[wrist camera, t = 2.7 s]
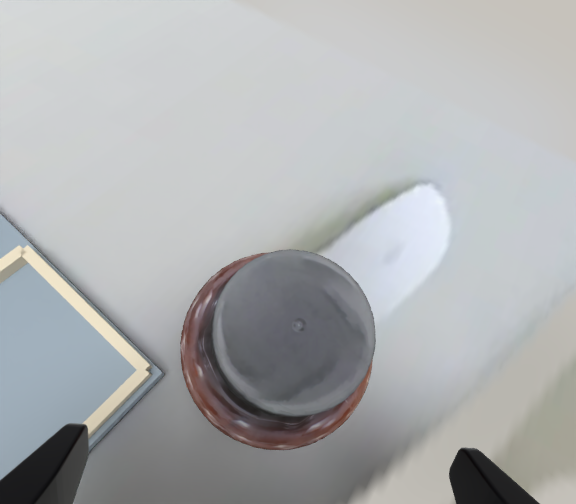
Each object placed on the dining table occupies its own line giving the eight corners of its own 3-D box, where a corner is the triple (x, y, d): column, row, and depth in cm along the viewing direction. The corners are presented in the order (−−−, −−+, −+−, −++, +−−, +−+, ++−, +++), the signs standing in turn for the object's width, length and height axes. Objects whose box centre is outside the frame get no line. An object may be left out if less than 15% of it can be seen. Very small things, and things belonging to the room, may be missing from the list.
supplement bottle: (241, 286, 21) (268, 169, 11) (334, 350, 21) (455, 295, 10) (167, 384, 19) (108, 357, 8) (270, 459, 18) (344, 529, 8)
